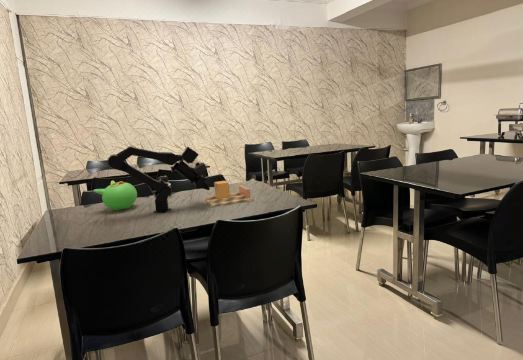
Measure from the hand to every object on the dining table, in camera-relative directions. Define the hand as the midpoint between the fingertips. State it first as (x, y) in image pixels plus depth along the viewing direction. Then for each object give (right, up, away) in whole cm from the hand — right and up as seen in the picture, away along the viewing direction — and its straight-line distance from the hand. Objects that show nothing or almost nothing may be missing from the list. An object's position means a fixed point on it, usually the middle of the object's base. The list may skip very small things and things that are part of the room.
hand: (209, 189), depth 188 cm
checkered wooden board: (+9, -6, +5) cm, 12 cm away
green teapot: (-46, -10, +2) cm, 47 cm away
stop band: (+18, -4, +8) cm, 20 cm away
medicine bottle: (-29, -5, +23) cm, 38 cm away
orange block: (+6, -5, +4) cm, 9 cm away
